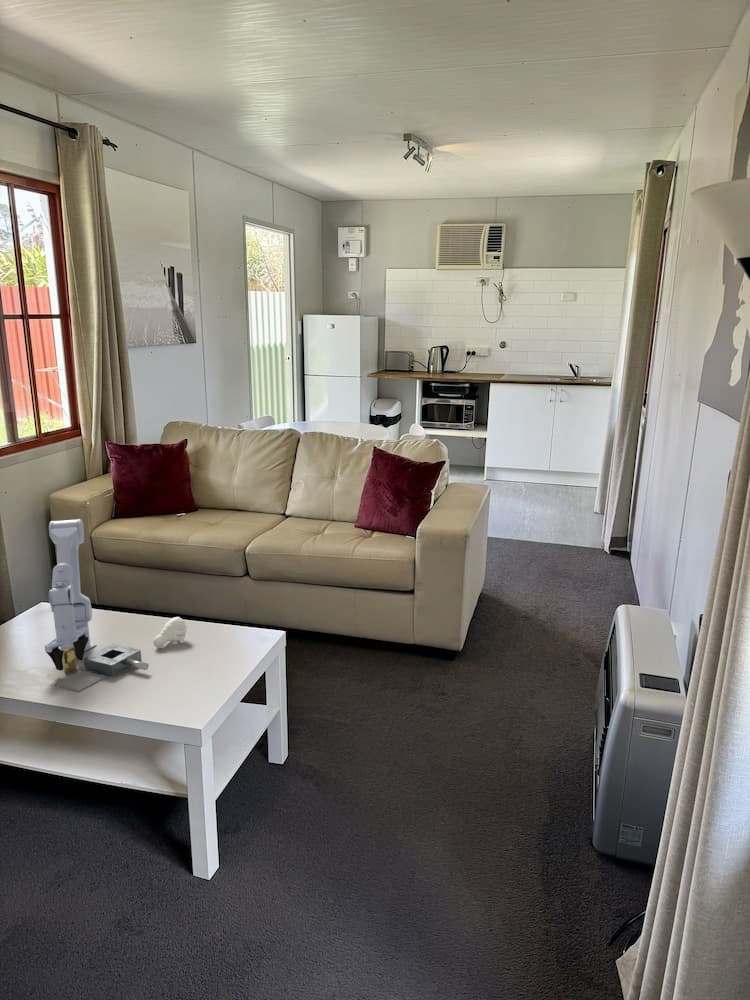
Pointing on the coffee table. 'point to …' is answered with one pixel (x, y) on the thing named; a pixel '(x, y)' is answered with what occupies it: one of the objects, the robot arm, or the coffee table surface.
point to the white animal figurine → (171, 632)
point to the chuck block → (114, 660)
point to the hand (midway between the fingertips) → (69, 664)
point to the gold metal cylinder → (69, 660)
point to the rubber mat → (80, 681)
